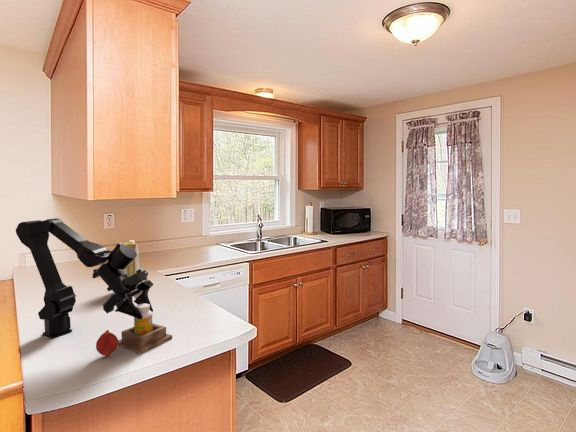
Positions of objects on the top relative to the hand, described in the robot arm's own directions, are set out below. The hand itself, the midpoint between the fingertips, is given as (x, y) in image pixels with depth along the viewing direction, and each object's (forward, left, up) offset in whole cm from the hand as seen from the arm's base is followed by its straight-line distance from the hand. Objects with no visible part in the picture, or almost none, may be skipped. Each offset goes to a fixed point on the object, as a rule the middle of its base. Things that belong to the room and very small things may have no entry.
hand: (146, 315), depth 112 cm
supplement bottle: (0, +1, -7) cm, 7 cm away
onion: (-12, +2, -9) cm, 15 cm away
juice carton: (+34, +53, -9) cm, 64 cm away
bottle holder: (0, +1, -9) cm, 9 cm away
